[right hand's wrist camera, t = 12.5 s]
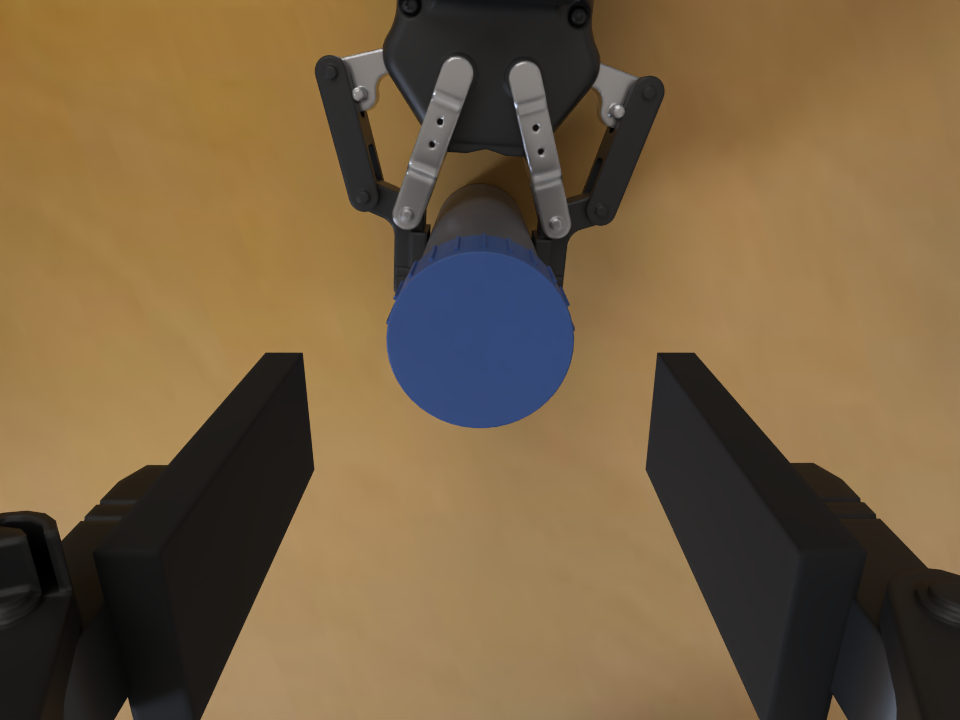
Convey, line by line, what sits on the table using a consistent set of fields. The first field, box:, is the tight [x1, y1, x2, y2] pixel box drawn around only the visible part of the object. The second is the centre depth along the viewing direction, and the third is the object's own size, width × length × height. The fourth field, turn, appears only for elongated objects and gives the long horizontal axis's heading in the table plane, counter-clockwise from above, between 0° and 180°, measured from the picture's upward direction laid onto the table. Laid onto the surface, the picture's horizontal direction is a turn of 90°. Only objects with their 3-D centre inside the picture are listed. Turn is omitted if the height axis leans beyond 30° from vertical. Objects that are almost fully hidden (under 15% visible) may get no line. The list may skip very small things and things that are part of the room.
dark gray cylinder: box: [422, 184, 538, 257], centre depth 27 cm, size 5×5×18 cm
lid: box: [386, 233, 575, 428], centre depth 19 cm, size 5×5×2 cm
